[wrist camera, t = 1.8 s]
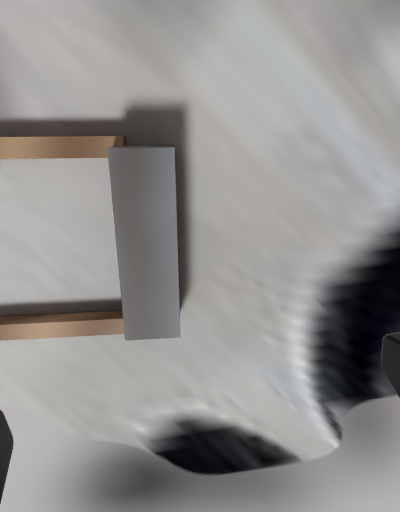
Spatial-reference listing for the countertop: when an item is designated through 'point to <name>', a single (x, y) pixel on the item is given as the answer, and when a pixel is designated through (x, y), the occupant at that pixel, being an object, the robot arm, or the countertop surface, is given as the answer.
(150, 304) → the guide track
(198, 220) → the countertop surface
